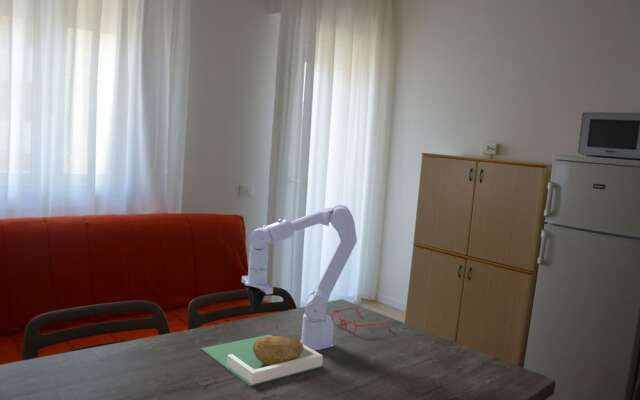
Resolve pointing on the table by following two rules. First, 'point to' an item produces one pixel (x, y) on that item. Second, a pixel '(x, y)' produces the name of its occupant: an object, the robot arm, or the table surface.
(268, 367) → the white angular frame
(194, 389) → the table surface
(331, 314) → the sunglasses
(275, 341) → the potato
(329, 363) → the table surface
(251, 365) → the green mat
